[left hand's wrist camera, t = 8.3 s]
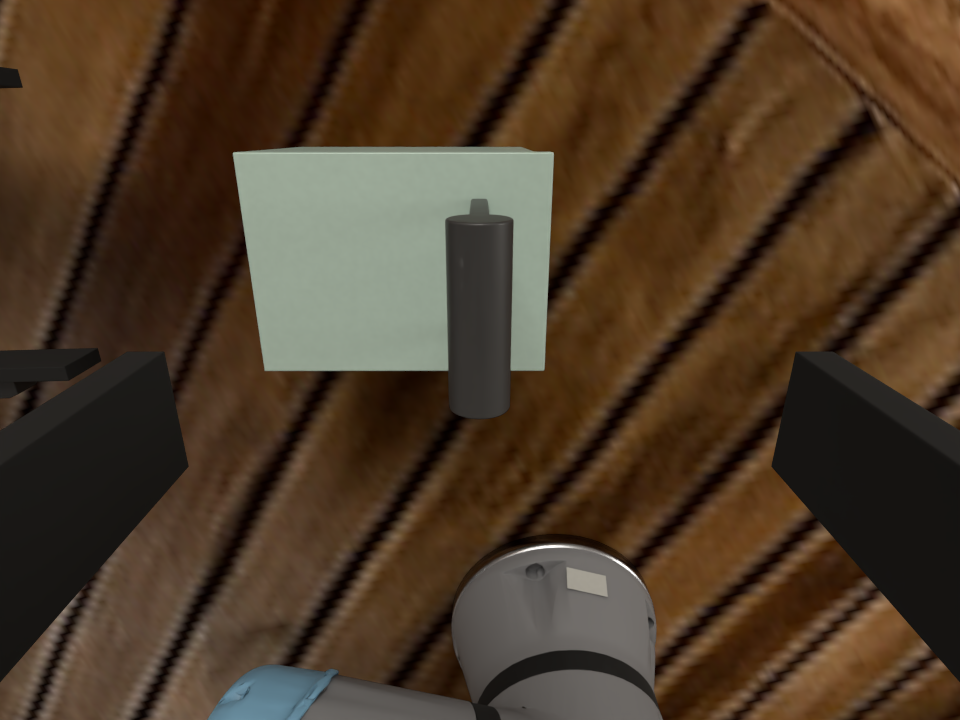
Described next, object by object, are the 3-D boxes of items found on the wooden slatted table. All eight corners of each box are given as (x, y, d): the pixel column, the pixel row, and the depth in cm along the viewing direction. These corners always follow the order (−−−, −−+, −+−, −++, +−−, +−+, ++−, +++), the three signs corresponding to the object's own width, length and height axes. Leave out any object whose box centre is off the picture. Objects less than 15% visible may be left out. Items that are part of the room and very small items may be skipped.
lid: (551, 151, 24) (589, 161, 16) (542, 363, 28) (569, 464, 19) (241, 151, 24) (114, 161, 16) (271, 363, 28) (180, 464, 19)
